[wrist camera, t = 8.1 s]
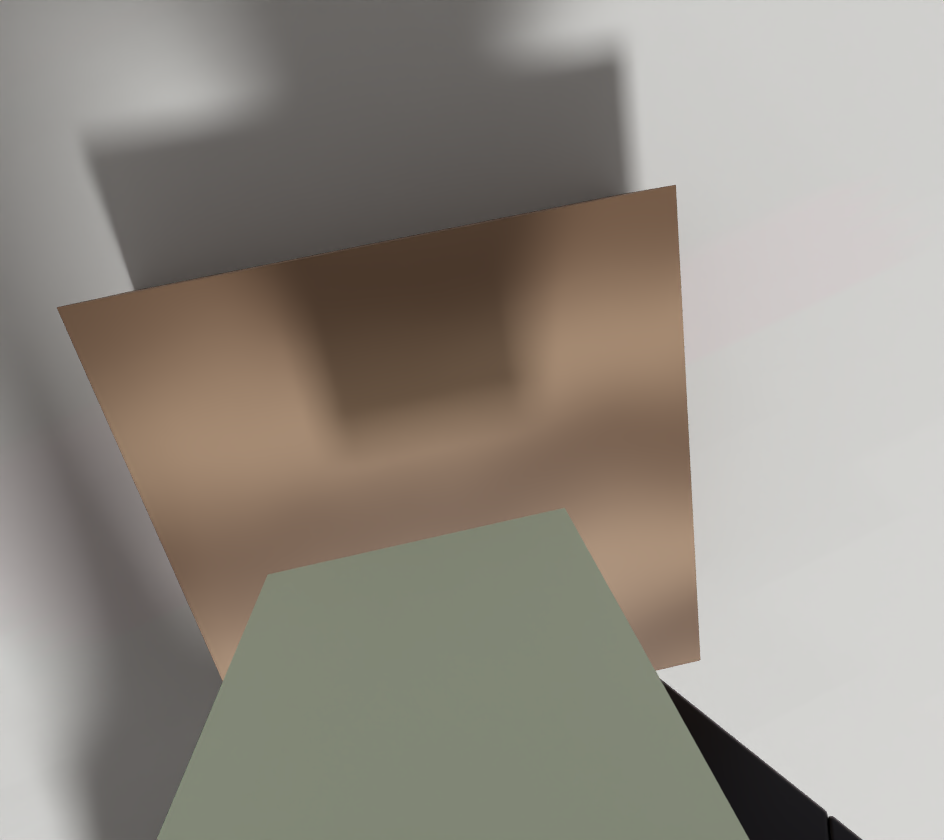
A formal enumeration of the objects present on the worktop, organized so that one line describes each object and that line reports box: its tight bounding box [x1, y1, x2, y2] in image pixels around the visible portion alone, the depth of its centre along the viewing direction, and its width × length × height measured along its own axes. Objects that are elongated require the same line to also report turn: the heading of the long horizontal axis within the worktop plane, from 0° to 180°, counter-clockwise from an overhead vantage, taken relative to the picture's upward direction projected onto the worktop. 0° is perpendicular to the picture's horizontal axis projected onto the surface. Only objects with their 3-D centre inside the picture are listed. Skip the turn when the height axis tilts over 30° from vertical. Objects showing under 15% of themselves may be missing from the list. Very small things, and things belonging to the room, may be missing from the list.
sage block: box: [157, 508, 749, 840], centre depth 7 cm, size 5×5×6 cm
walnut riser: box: [57, 185, 700, 681], centre depth 16 cm, size 14×14×4 cm
